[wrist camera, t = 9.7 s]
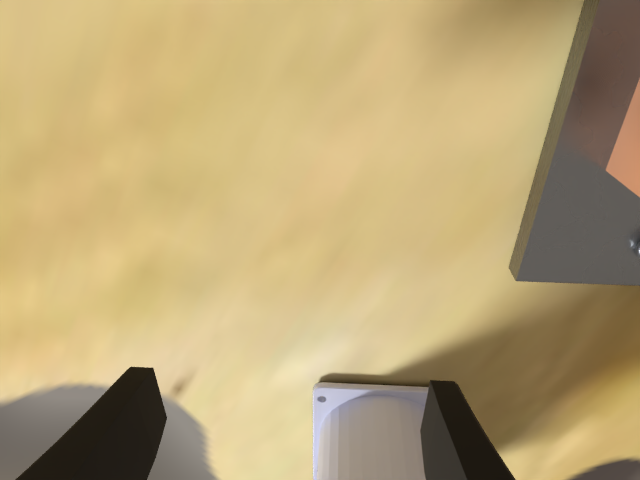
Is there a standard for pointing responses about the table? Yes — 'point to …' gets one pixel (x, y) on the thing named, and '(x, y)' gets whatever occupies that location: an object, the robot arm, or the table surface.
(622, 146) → the collar
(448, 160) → the table surface
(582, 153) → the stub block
